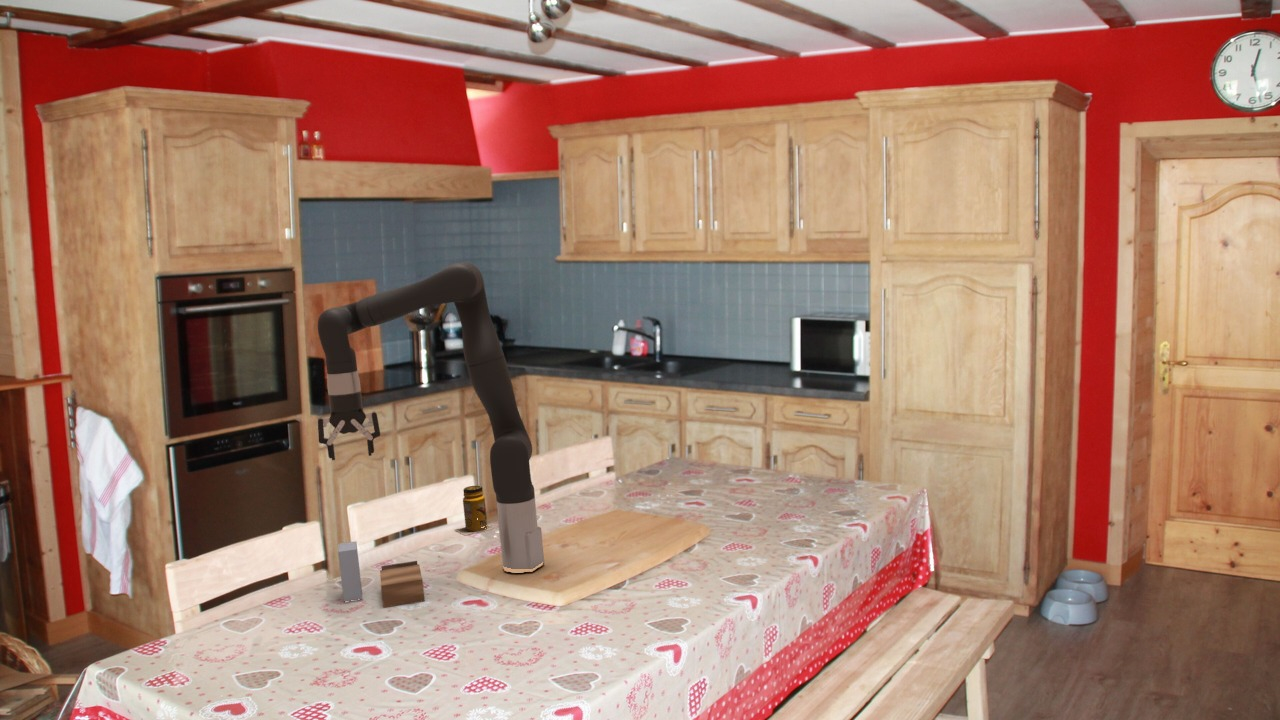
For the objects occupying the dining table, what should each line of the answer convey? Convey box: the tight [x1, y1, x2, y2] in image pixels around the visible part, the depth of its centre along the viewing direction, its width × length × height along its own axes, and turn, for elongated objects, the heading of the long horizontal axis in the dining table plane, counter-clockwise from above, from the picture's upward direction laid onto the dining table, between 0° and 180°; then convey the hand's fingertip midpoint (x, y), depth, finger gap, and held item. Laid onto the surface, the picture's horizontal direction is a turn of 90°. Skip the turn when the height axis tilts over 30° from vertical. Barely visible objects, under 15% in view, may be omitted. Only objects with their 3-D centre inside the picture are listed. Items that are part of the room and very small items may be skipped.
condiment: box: [454, 485, 494, 536], centre depth 290 cm, size 7×8×12 cm
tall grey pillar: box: [337, 540, 363, 602], centre depth 240 cm, size 7×4×12 cm, turn 15°
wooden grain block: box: [379, 560, 425, 608], centre depth 242 cm, size 20×9×6 cm, turn 15°
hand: (352, 457), depth 251 cm, fingers open, 8 cm apart
